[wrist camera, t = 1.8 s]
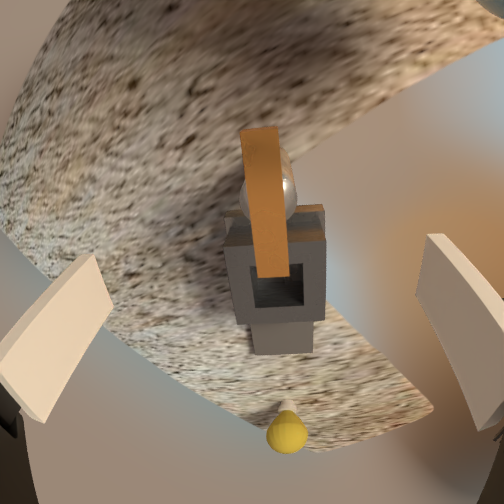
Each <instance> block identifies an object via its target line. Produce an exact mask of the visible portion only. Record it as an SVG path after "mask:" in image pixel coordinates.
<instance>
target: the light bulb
mask: <svg viewBox="0 0 504 504" xmlns="http://www.w3.org/2000/svg"><path fill="white" fill-rule="evenodd" d="M296 413H297V407H296V406H295V405H294V401H293V400H289V399H286V400H283V401H281V405H280V406H279V407H278V414H279V415H278V416H277V417H276V419H275V420H274V421H273V422H272V424H271V425H270V427H269V428H268V430H267V435H266V438H267V442H268V444H269V445H270V447H271V448H272V449H273V450H275V451H277V452H279V453H283V454H289V453H294V452H296V451H298V450H299V449H301V448H302V447H303V446H304V445H305V443H306V440H307V437H308V431H307V428H306V427H305V425H304V424H303V422H302V421H301V419H300V418H299V417H298V416H297V415H296Z"/></svg>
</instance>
